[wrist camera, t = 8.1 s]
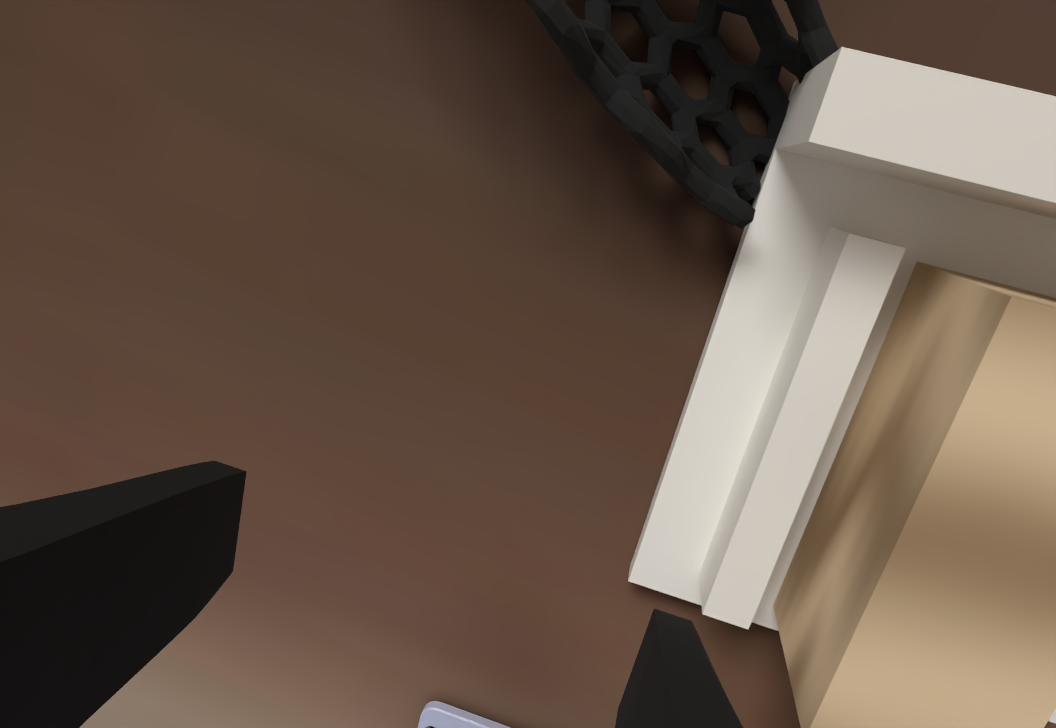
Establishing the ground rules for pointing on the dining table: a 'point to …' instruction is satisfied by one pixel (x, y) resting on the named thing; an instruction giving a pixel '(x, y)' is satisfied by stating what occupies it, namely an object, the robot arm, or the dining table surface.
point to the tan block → (936, 525)
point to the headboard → (836, 303)
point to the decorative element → (681, 148)
